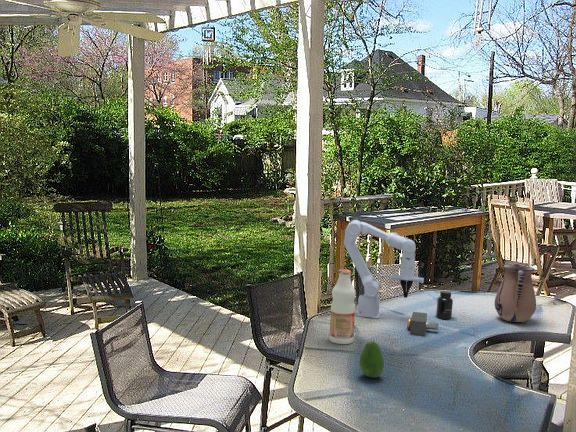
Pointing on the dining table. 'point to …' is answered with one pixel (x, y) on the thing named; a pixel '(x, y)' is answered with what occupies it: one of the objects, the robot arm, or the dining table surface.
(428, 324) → the lynch pin
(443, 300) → the supplement bottle
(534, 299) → the ceramic pitcher
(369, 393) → the dining table surface
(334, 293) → the fruit juice
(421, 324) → the hitch beam
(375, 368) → the avocado
